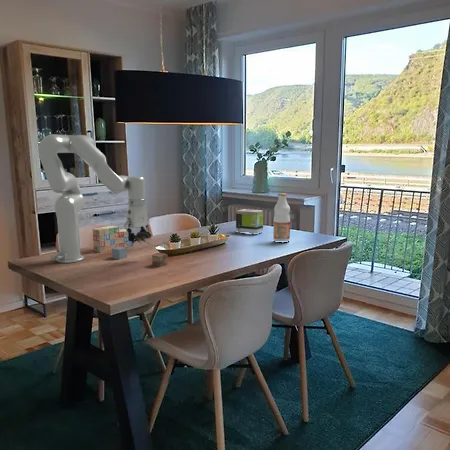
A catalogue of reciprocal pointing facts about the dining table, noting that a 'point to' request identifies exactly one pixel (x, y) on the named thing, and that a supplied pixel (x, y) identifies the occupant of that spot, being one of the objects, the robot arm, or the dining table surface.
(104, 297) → the dining table surface
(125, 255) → the slate grey block
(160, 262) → the walnut block
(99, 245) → the stack of blocks
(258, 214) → the tea box
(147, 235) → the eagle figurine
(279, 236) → the fruit juice
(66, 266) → the dining table surface
